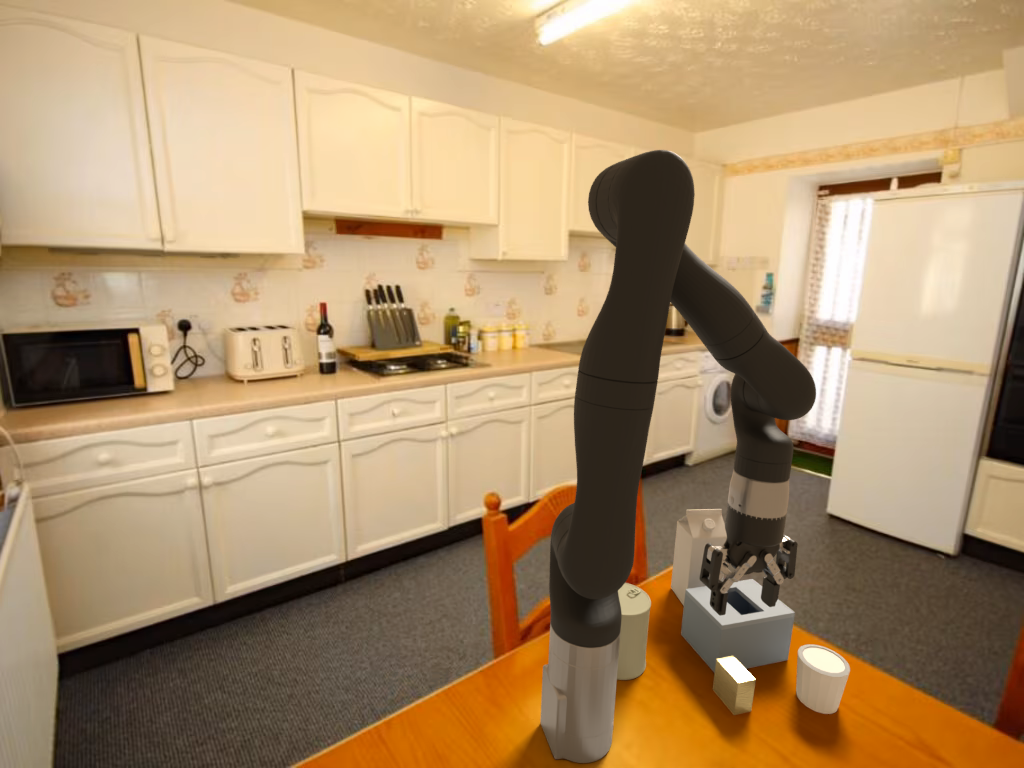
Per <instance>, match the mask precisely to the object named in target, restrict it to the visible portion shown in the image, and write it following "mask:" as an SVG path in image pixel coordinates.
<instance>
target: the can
mask: <svg viewBox="0 0 1024 768" xmlns="http://www.w3.org/2000/svg"><path fill="white" fill-rule="evenodd" d="M618 595H619V600H620V606H621V613H622V619H621V633H620V645H619V657H618V670H617V680H621V681H629V680H633V679H634V680H635V678H636V679H637V678H638V677H640V676H641V675H642V674H643V673H644V671H645V670H646V667H647V661H646V660H647V659H646V656H647V643H648V634H649V632H648V631H649V622H650V611H651V608H652V607H651V606H652V601H651V598H650V596H649V594H648V593H647V592H646V591H644V590H643V589H642V588H641V587H638V586H637V585H634V584H631V583H629V582H625V583H624V585H623V586H622V587H621V588H620V589H619V590H618Z"/></svg>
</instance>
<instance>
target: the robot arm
mask: <svg viewBox="0 0 1024 768" xmlns="http://www.w3.org/2000/svg"><path fill="white" fill-rule="evenodd" d="M694 183H695V182H694V177H693V175H692V171H691V169H690V167H689V166H688V164H687V162H686V161H685V160H684V159H683V157H681V156H680V155H679V154H677V153H675V151H671V150H668V149H655V150H649V151H646V152H642V153H639V154H636V155H634V156H631V157H628V158H626V159H624V160H621V161H618V162H615V163H614V164H611V165H610V166H608V167H606V168H605V169H604V170H602V171H601V172H600V173H599V174H598V175H597V176H596V177H595V179H594V180H593V182H592V184H591V185H590V189H589V191H588V199H587V200H588V201H587V205H588V212H589V216H590V219H591V221H592V223H593V225H594V227H595V228H596V229H597V231H598V232H599V233H600V234H601V235H602V236H603V237H604V238H605V239H606V240H607V241H608V242H609V243H610V244H611V245H613V246H614V247H615V252H614V253H615V254H614V260H613V261H614V262H613V269H612V270H613V271H612V276H611V281H610V285H609V288H608V291H607V293H606V297H605V300H604V302H603V304H602V306H601V307H600V308H601V309H600V311H599V313H598V315H597V316H596V319H595V321H594V323H593V325H592V327H591V328H590V331H589V333H588V335H587V337H586V340H585V342H584V345H583V347H582V351H581V353H580V358H579V363H578V371H577V376H576V377H577V378H576V387H575V392H574V400H573V401H574V402H573V433H574V448H575V460H576V461H575V463H576V465H575V466H576V489H575V498H574V502H572V503H571V504H569V505H567V506H566V507H565V508H564V509H562V510H561V511H560V512H559V514H558V515H557V516H556V518H555V520H554V522H553V525H552V528H551V533H550V542H549V543H550V544H549V546H550V547H549V578H548V579H549V581H548V582H549V583H548V587H549V588H548V590H549V592H548V594H549V602H550V622H549V623H550V625H549V627H550V628H549V642H548V643H549V645H548V661H547V662H548V663H547V664H544V665H543V666H542V682H541V703H540V704H541V705H540V725H541V728H542V730H543V732H544V736H545V738H546V740H547V743H548V745H549V748H550V751H551V754H552V756H553V758H554V759H555V760H560V759H564V760H568V761H570V762H573V763H578V764H579V763H580V764H589V763H592V762H593V763H595V762H596V761H598V760H601V759H602V758H603V757H605V755H606V754H607V753H608V752H609V750H610V749H611V746H612V743H613V731H614V721H615V720H614V719H615V707H616V694H617V693H616V692H617V681H618V679H617V670H618V657H619V645H620V633H621V619H622V613H621V606H620V600H619V595H618V590H619V589H620V588H621V587H622V586H623V585H624V583H627V581H628V578H629V577H630V575H631V572H632V569H633V566H634V560H635V547H636V545H635V544H636V523H637V506H638V504H637V503H638V494H639V487H640V481H641V475H642V470H643V467H644V461H645V456H646V451H647V443H648V438H649V431H650V425H651V421H652V416H653V412H654V406H655V400H656V396H657V395H656V393H657V388H658V387H657V386H658V383H659V382H658V380H659V375H660V374H659V373H660V372H659V371H660V368H661V367H660V366H661V365H660V364H661V358H662V353H663V346H664V339H665V335H666V328H667V323H668V318H669V317H668V316H669V312H670V307H671V306H670V305H671V304H672V306H673V307H674V308H675V309H676V311H677V312H678V313H679V314H680V315H681V317H682V318H683V319H684V320H685V322H686V323H687V325H689V327H690V328H691V329H692V331H693V332H694V334H695V335H696V336H697V337H698V339H699V340H700V341H701V343H702V344H703V345H704V346H705V349H707V351H708V352H709V353H710V354H711V356H712V357H713V359H715V361H716V362H717V363H718V364H719V365H720V367H722V368H723V369H725V370H726V371H728V372H730V373H733V374H734V375H733V379H732V381H731V384H730V385H731V386H730V404H731V405H730V406H731V411H732V418H733V419H732V420H733V426H734V432H735V437H736V448H735V453H734V462H733V470H732V475H731V478H730V482H729V488H728V489H729V490H728V497H727V504H726V513H725V521H724V524H725V530H726V534H727V539H726V541H725V543H724V545H723V546H714V545H712V544H711V543H707V544H706V545H705V548H704V554H703V560H702V566H701V572H700V581H701V582H702V583H703V584H705V585H706V586H707V587H708V588H709V589H710V590H711V596H710V606H711V607H712V608H713V610H714V611H715V612H716V613H717V614H718V615H720V616H721V615H725V614H726V606H727V598H728V592H727V591H728V590H729V588H730V587H731V586H732V584H733V583H734V582H738V581H741V579H742V577H743V576H747V575H750V574H753V573H758V574H760V573H764V574H765V576H764V577H763V580H762V584H761V586H762V592H761V600H762V601H763V602H764V603H765V604H766V605H768V606H769V607H774V606H775V605H776V602H777V600H778V599H779V595H780V588H781V585H782V584H783V583H784V581H785V580H786V579H789V580H792V579H794V577H795V575H796V565H797V555H798V542H797V541H795V540H794V539H792V537H789V536H787V535H786V534H785V528H786V520H787V516H788V515H787V514H788V506H789V499H790V476H791V470H792V463H793V457H794V455H793V454H794V442H793V440H792V439H791V438H790V437H789V436H788V435H787V434H786V433H784V432H783V431H782V430H781V429H780V428H779V427H778V425H777V423H776V419H777V420H782V421H794V420H799V419H800V418H803V417H804V416H806V415H807V414H809V412H810V411H811V410H812V409H813V407H814V404H815V403H816V400H817V399H816V398H817V388H816V383H815V381H814V378H813V376H812V373H811V372H810V371H809V369H808V368H807V367H806V366H805V365H804V364H803V363H802V362H801V361H800V360H799V359H798V358H797V357H796V356H795V355H794V354H793V353H792V352H791V351H790V350H789V349H788V348H787V347H786V346H784V345H783V344H782V343H781V342H780V341H778V340H777V339H776V338H774V337H773V336H772V335H771V334H770V333H769V331H768V330H767V328H766V326H765V325H764V324H763V322H762V321H761V319H760V318H759V316H758V315H757V313H756V312H755V310H754V309H753V308H752V306H751V305H750V303H749V302H748V301H747V300H746V298H745V297H744V295H743V294H742V293H741V292H740V291H739V290H738V288H736V287H735V286H734V285H733V284H732V283H731V282H729V280H727V279H726V278H725V277H724V276H723V275H721V274H719V273H718V272H717V271H716V270H714V269H713V268H712V267H711V266H710V265H708V264H707V263H706V262H705V261H704V260H702V259H701V258H700V257H699V256H698V255H697V254H696V253H695V252H694V251H693V250H692V249H691V248H690V247H689V246H688V245H687V244H686V240H687V237H688V233H689V230H690V225H691V222H692V221H691V220H692V217H693V212H694V205H695V196H696V195H695V184H694ZM775 557H776V559H775ZM774 559H775V560H774ZM730 565H731V567H732V568H733V569H734V570H733V571H731V570H730V569H729V566H730ZM709 575H710V576H709ZM725 576H726V577H725ZM723 577H724V580H723V582H722V581H720V580H721V579H722V578H723Z"/></svg>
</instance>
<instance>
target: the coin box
mask: <svg viewBox="0 0 1024 768" xmlns="http://www.w3.org/2000/svg"><path fill="white" fill-rule="evenodd" d="M727 592H728V598H727V606H726V614H725V615H721V616H720V615H718V614H717V613H716V612H715V611H714V610H713V608H712V607H711V606H710V596H711V590H710V589H709V588H708V587H707V586H703V587H697V588H690V589H686V591H685V600H684V606H683V610H682V611H683V612H682V620H681V629H680V630H681V631H680V635H681V636H682V637H683V638H684V640H685V641H686V642H687V643H688V644H689V645H690V646H691V647H692V649H693V650H694V651H695V652H696V654H697V655H698V656H699V657H700V658H701V660H702V661H703V662H705V664H706V665H707V666H708V667H709V669H711V671H712V672H713V673H714V674H715V666H716V659H719V658H724V657H729V656H734V657H735V658H736V659H737V660H738V661H739V662H740V663H741V664H742V666H743V667H744V668H745V669H746V670H747V669H751V668H755V667H757V668H758V667H760V666H761V667H762V666H766V665H771V664H775V663H780V662H784V661H785V662H786V661H788V660H789V655H790V654H789V653H790V648H791V642H792V635H793V629H794V623H795V615H796V612H795V611H794V610H793V609H792V608H790V607H789V606H787V605H786V604H785V603H784V602H783V601H781V600H780V599H779V598H778V600H777V602H776V605H775V606H774V607H769V606H768V605H766V604H765V603H764V602H763V601H762V600H761V592H762V584H760V583H759V582H757V581H756V580H755V579H753V578H749V579H744V580H739V581H738V582H734V583H733V584H732V586H731V587H730V588H729V590H728V591H727Z"/></svg>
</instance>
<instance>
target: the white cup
mask: <svg viewBox="0 0 1024 768" xmlns="http://www.w3.org/2000/svg"><path fill="white" fill-rule="evenodd" d="M850 672H851V667H850V664H849V663H848V661H847V660H846V659H845V658H844V657H843V656H842V655H841V654H839V653H837V651H834V650H832V649H830V648H828V647H826V646H823V645H819V644H809V643H808V644H804V645H800V646H799V648H798V650H797V664H796V683H795V684H796V686H795V687H796V688H795V691H796V692H795V693H796V697H797V698H798V700H799V701H800V703H801V704H803V705H804V706H805V707H807V708H808V709H810V710H812V711H814V712H816V713H819V714H822V715H823V714H824V715H828V714H829V715H832V714H834V713H836V712H837V711H838V710H839V708H840V703H841V700H842V697H843V694H844V691H845V689H846V685H847V681H848V679H849V675H850Z"/></svg>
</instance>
